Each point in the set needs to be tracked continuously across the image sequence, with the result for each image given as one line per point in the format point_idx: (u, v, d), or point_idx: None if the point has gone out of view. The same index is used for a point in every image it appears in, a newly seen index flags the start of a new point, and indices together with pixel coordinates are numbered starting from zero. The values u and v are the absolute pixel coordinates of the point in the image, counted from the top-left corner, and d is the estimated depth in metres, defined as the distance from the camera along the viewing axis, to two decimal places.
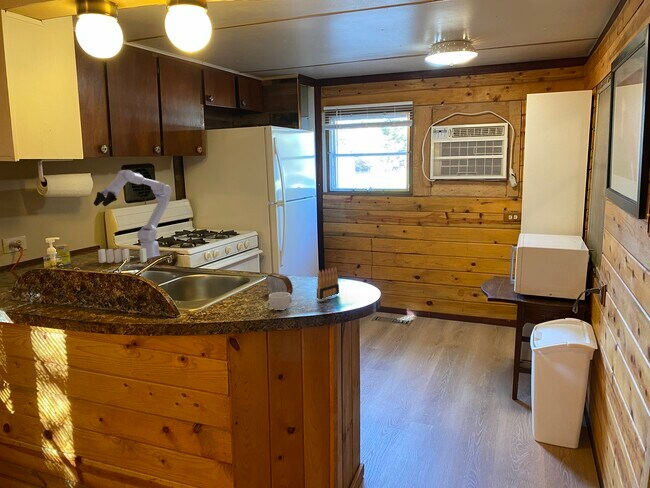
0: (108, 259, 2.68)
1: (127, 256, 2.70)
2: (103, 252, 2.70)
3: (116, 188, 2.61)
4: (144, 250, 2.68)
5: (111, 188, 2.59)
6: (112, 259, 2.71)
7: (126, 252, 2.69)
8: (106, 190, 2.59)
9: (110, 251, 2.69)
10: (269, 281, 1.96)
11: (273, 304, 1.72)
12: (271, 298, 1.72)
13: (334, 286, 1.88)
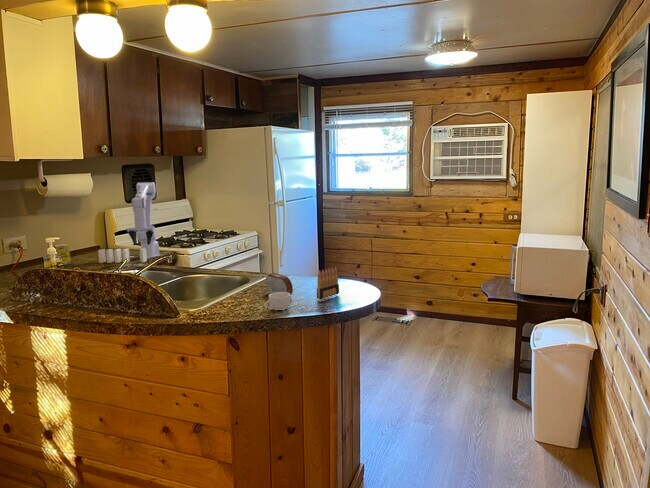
0: (108, 259, 2.68)
1: (127, 256, 2.70)
2: (103, 252, 2.70)
3: (145, 222, 2.66)
4: (144, 250, 2.68)
5: (142, 226, 2.64)
6: (112, 259, 2.71)
7: (126, 252, 2.69)
8: (139, 229, 2.64)
9: (110, 251, 2.69)
10: (269, 281, 1.96)
11: (273, 304, 1.72)
12: (271, 298, 1.72)
13: (334, 286, 1.88)
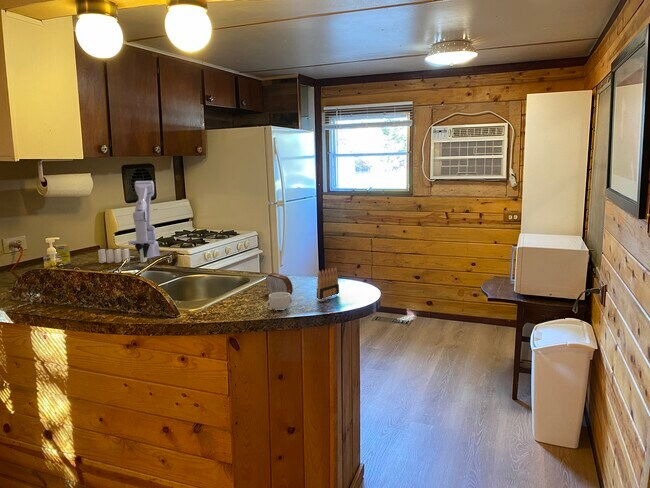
0: (108, 259, 2.68)
1: (127, 256, 2.70)
2: (103, 252, 2.70)
3: (146, 235, 2.67)
4: None
5: (144, 239, 2.66)
6: (112, 259, 2.71)
7: (126, 252, 2.69)
8: (140, 242, 2.66)
9: (110, 251, 2.69)
10: (269, 281, 1.96)
11: (273, 304, 1.72)
12: (271, 298, 1.72)
13: (334, 286, 1.88)
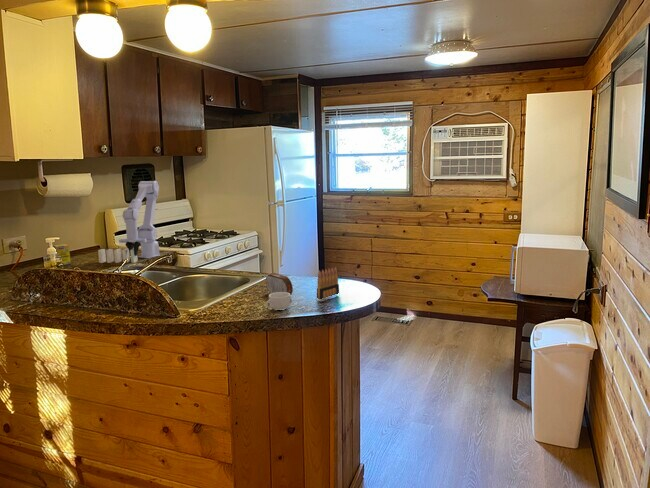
0: (108, 259, 2.68)
1: (127, 256, 2.70)
2: (103, 252, 2.70)
3: (136, 233, 2.67)
4: None
5: (134, 237, 2.66)
6: (112, 259, 2.71)
7: (126, 252, 2.69)
8: None
9: (110, 251, 2.69)
10: (269, 281, 1.96)
11: (273, 304, 1.72)
12: (271, 298, 1.72)
13: (334, 286, 1.88)
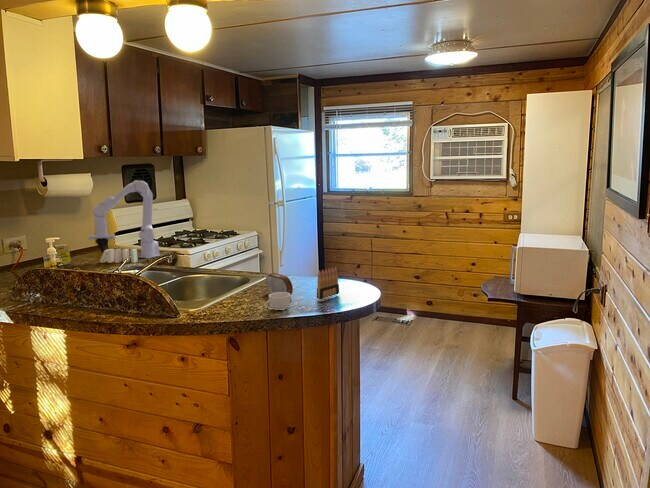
0: (108, 259, 2.68)
1: (127, 256, 2.70)
2: None
3: (105, 230, 2.68)
4: (134, 250, 2.69)
5: (103, 233, 2.66)
6: (112, 259, 2.71)
7: (126, 252, 2.69)
8: (100, 237, 2.66)
9: (111, 251, 2.69)
10: (269, 281, 1.96)
11: (273, 304, 1.72)
12: (271, 298, 1.72)
13: (334, 286, 1.88)
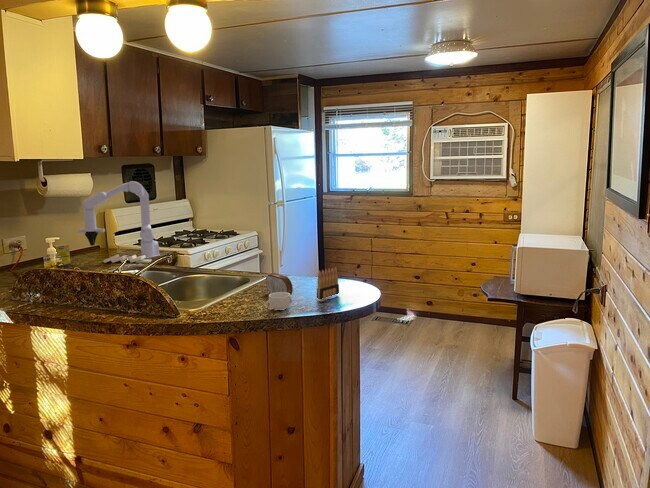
0: (114, 260, 2.68)
1: None
2: (115, 258, 2.70)
3: (95, 223, 2.67)
4: None
5: (92, 227, 2.66)
6: None
7: (140, 259, 2.68)
8: (89, 230, 2.66)
9: (123, 258, 2.69)
10: (269, 281, 1.96)
11: (273, 304, 1.72)
12: (271, 298, 1.72)
13: (334, 286, 1.88)
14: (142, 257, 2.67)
